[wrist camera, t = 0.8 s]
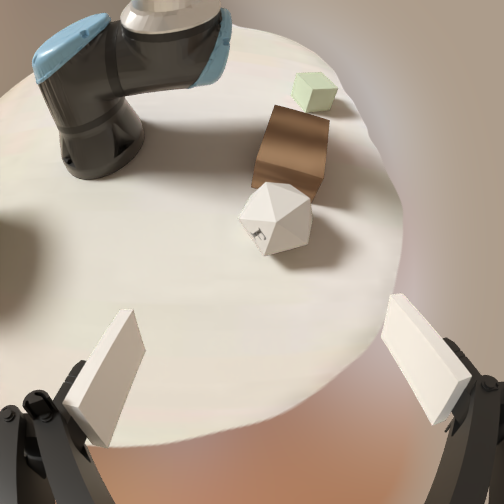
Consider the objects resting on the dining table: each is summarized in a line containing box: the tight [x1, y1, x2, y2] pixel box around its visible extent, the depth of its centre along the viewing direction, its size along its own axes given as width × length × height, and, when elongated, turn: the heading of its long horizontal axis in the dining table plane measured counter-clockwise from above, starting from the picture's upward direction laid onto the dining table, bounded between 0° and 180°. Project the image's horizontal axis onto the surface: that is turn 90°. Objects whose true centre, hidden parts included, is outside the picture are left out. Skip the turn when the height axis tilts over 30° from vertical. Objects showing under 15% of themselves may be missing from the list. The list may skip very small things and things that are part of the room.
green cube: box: [291, 72, 338, 113], centre depth 49 cm, size 6×6×6 cm
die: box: [238, 182, 313, 256], centre depth 34 cm, size 8×9×10 cm
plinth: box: [251, 105, 330, 203], centre depth 40 cm, size 13×9×6 cm
